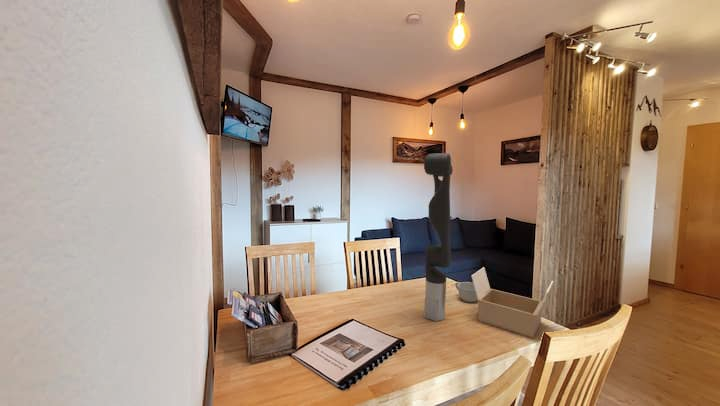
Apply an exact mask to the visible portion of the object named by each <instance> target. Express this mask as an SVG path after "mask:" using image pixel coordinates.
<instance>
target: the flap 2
mask: <svg viewBox="0 0 720 406" xmlns="http://www.w3.org/2000/svg"><path fill="white" fill-rule="evenodd" d="M553 284H554V280H551V282H550V284H549V286H548V288H547V289H546V292H545V294H544V296H543V298H542V300H541V301H542V302H541V304H540V307H539V309H538V311H537V313H536V315H538V313H539V311H540V309H541V307H542V308H543V304H544V302H545V300H546V298H547V296H548V294H549V291H550V290H551V288H552V286H553Z"/></svg>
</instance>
